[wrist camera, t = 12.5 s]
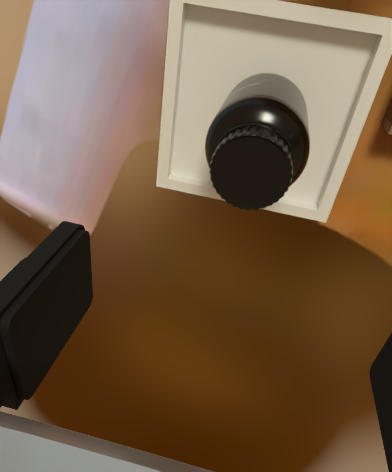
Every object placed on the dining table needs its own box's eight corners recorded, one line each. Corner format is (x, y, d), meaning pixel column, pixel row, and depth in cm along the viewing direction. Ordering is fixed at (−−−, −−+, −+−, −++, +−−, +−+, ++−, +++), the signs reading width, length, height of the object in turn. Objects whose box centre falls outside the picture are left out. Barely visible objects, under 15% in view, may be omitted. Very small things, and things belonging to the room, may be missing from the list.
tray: (397, 18, 26) (404, 20, 25) (324, 211, 35) (325, 222, 34) (178, -16, 28) (171, -17, 26) (162, 177, 37) (156, 186, 35)
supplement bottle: (245, 55, 29) (223, 88, 19) (323, 95, 29) (341, 147, 19) (209, 134, 33) (176, 195, 23) (279, 168, 33) (275, 242, 23)
